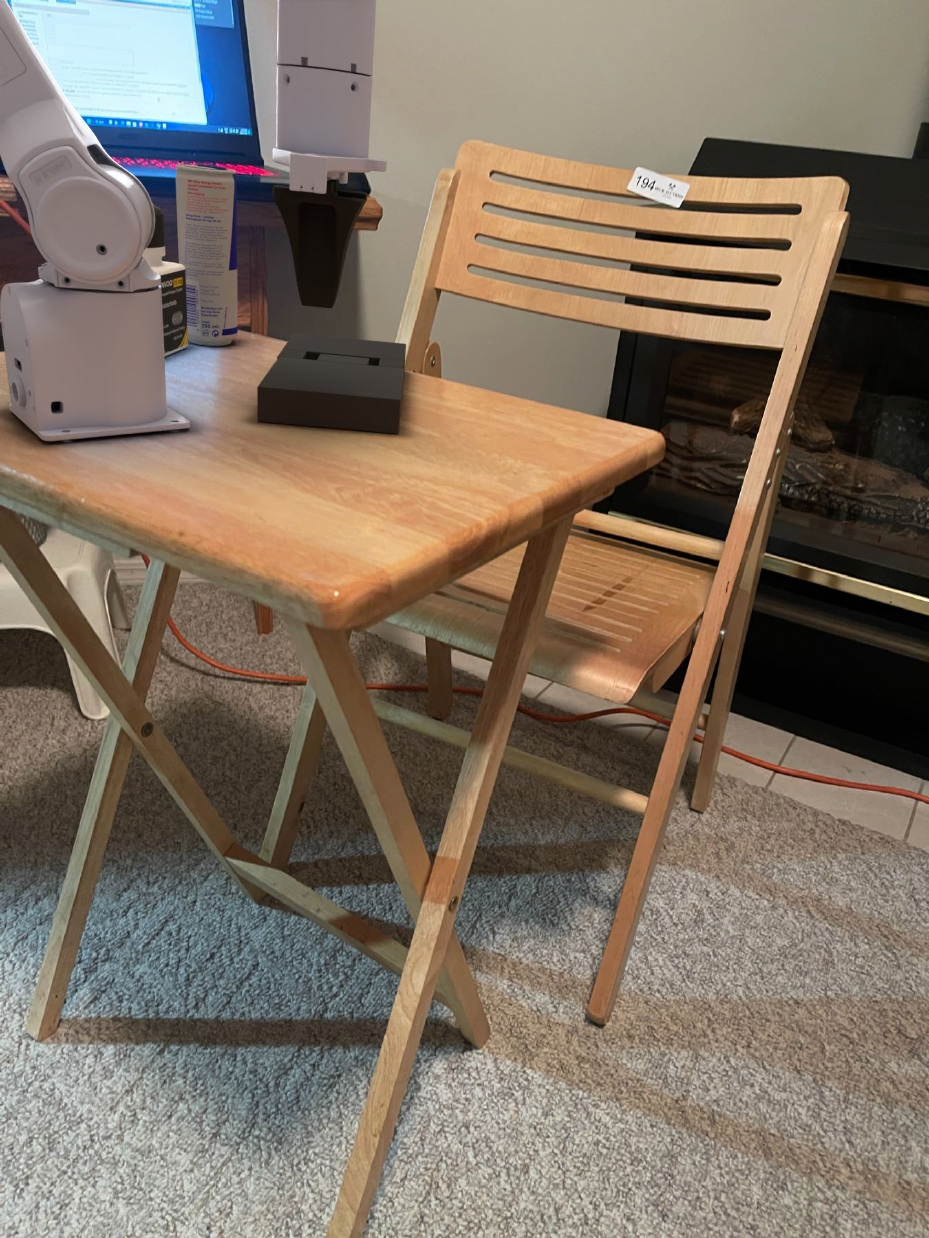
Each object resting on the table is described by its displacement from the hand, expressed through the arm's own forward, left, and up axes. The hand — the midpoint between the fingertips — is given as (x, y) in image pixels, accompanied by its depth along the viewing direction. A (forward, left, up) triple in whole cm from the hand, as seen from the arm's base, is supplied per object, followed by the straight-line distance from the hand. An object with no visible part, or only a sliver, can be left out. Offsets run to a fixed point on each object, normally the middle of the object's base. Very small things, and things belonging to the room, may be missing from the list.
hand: (317, 305), depth 63 cm
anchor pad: (+10, +12, -8) cm, 17 cm away
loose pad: (+4, +5, -8) cm, 10 cm away
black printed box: (-3, +26, -9) cm, 27 cm away
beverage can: (+5, +28, -9) cm, 29 cm away
